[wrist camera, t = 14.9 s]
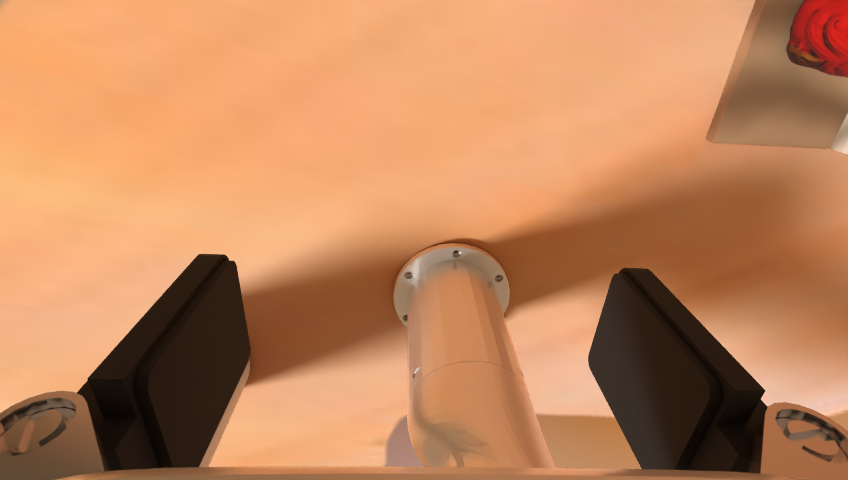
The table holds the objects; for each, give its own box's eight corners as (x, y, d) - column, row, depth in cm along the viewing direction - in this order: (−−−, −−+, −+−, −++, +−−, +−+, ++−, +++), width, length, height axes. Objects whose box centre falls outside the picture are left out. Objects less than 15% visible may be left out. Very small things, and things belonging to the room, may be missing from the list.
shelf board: (828, 146, 41) (866, 157, 37) (705, 139, 40) (732, 150, 37) (961, -122, 32) (1027, -139, 28) (804, -136, 31) (853, -155, 27)
